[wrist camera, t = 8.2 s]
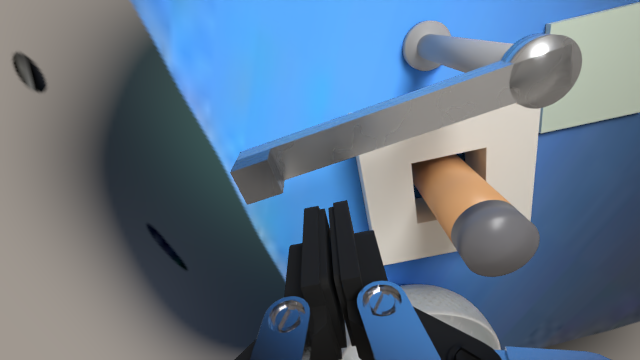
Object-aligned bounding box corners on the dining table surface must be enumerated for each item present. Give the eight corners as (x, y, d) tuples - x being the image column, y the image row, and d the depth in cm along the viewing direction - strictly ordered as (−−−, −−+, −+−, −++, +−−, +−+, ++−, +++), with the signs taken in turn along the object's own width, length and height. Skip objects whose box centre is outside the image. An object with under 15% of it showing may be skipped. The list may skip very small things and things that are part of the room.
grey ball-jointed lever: (563, 22, 13) (610, 23, 11) (563, 90, 14) (605, 101, 12) (234, 140, 15) (223, 159, 13) (260, 191, 16) (253, 215, 14)
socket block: (515, -1, 24) (710, -20, 13) (504, 213, 33) (614, 321, 21) (334, 42, 25) (358, 63, 14) (371, 240, 34) (405, 357, 22)
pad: (665, -5, 25) (673, -5, 24) (639, 109, 29) (645, 110, 28) (546, 24, 25) (551, 24, 25) (536, 131, 29) (540, 133, 29)
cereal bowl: (328, 358, 43) (332, 417, 36) (336, 260, 35) (343, 312, 29) (454, 357, 44) (479, 414, 37) (487, 261, 36) (525, 312, 30)
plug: (456, 140, 29) (542, 209, 19) (458, 183, 31) (536, 268, 21) (406, 151, 30) (463, 225, 19) (411, 193, 32) (464, 282, 21)
